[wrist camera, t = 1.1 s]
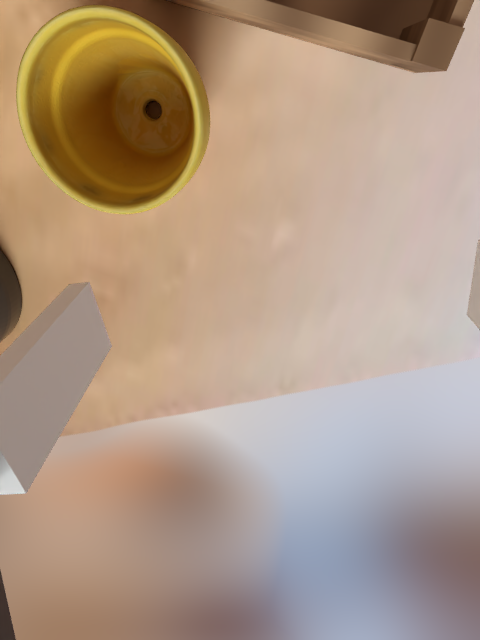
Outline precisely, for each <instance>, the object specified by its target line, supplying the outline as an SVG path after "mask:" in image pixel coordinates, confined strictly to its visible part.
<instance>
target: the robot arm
mask: <svg viewBox="0 0 480 640" xmlns="http://www.w3.org/2000/svg"><path fill="white" fill-rule="evenodd" d="M21 307H22V299H21V291H20V287H19V283H18V280H17V277H16V275H15V273H14V270H13V268H12V267H11V265H10V263H9V261H8V260H7V258H6V257H5V255H4V254H3V252H2V251H1V250H0V342H1V341H2V340H3V339H4V338H6V337H7V336H8V335H9V334H10V333H11V332H12V330H13V329H14V328H15V326H16V324H17V322H18V320H19V317H20V313H21ZM467 315H468V317H469V318H470V319H471V320H472V321H473V322H474V324H475V325H476V326H477V327H478V328H479V330H480V240H478V245H477V252H476V258H475V265H474V272H473V278H472V285H471V291H470V298H469V305H468V311H467ZM111 347H112V345H111V342H110V339H109V337H108V334H107V331H106V328H105V325H104V322H103V320H102V317H101V314H100V311H99V308H98V305H97V302H96V300H95V297H94V294H93V291H92V288H91V285H90V282H85V283H76V284H69V285H68V286H67V287H66V288H65V289H64V290H63V291H62V292H61V293H60V294H59V295H58V296H57V297H56V298H55V299H54V300H53V302H52V303H51V304H50V305H49V306H48V307H47V308H46V309H45V310H44V311H43V312H42V313H41V314H40V315H39V316H38V317H37V318H36V319H35V320H34V321H33V322H32V323H31V324H30V325H29V326H28V327H27V328H26V330H25V331H24V332H23V333H22V334H21V335H20V336H19V337H18V338H17V339H16V340H15V341H14V342H13V343H12V344H11V345H10V346H9V347H8V348H7V349H6V350H5V351H4V352H3V353H2V354H1V355H0V495H1V494H21V493H27V491H28V489H29V488H30V486H31V484H32V482H33V481H34V479H35V477H36V476H37V474H38V472H39V470H40V469H41V467H42V465H43V464H44V462H45V460H46V458H47V457H48V455H49V453H50V451H51V450H52V448H53V446H54V445H55V443H56V441H57V439H58V438H59V436H60V434H61V433H62V431H63V429H64V427H65V426H66V424H67V422H68V421H69V419H70V417H71V415H72V414H73V412H74V410H75V409H76V407H77V405H78V403H79V402H80V400H81V398H82V397H83V395H84V393H85V391H86V390H87V388H88V386H89V384H90V383H91V381H92V379H93V378H94V376H95V374H96V372H97V371H98V369H99V367H100V366H101V364H102V362H103V360H104V359H105V357H106V355H107V354H108V352H109V350H110V348H111ZM0 640H16V639H15V635H14V630H13V625H12V621H11V616H10V612H9V607H8V602H7V598H6V593H5V589H4V584H3V580H2V575H1V571H0Z"/></svg>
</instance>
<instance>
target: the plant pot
mask: <svg viewBox="0 0 480 640" xmlns="http://www.w3.org/2000/svg"><path fill="white" fill-rule="evenodd" d="M16 100H17V111H18V116H19V121H20V125H21V129H22V132H23V135H24V138H25V140H26V143H27V145H28V147H29V149H30V151H31V153H32V155H33V157H34V158H35V160H36V162H37V163H38V165H39V166H40V167H41V169H42V170H43V171H44V173H45V174H46V175H47V176H48V177H49V178H50V179H51V181H52V182H53V183H54V184H56V185H57V186H58V187H59V188H60V189H61V190H62V191H64V192H65V193H66V194H67V195H69V196H70V197H72V198H73V199H75V200H76V201H78V202H80V203H82V204H84V205H86V206H88V207H91V208H93V209H96V210H99V211H103V212H107V213H114V214H133V213H140V212H144V211H147V210H150V209H153V208H155V207H157V206H159V205H161V204H163V203H165V202H166V201H168V200H169V199H171V198H172V197H173V196H174V195H176V194H177V193H178V192H179V191H180V190H181V189H182V188H183V187H184V186H185V185H186V184H187V183H188V182H189V180H190V179H191V178H192V176H193V175H194V173H195V172H196V170H197V169H198V167H199V165H200V163H201V161H202V159H203V156H204V154H205V151H206V148H207V144H208V140H209V133H210V111H209V104H208V99H207V95H206V91H205V88H204V85H203V82H202V80H201V77H200V75H199V73H198V71H197V69H196V67H195V65H194V64H193V62H192V61H191V59H190V58H189V56H188V55H187V54H186V52H185V51H184V50H183V49H182V47H181V46H180V45H179V44H178V43H177V42H176V41H175V40H174V39H173V38H172V37H171V36H169V35H168V34H167V33H166V32H164V31H163V30H162V29H161V28H159V27H158V26H156V25H155V24H153V23H151V22H150V21H148V20H146V19H144V18H142V17H140V16H138V15H136V14H134V13H132V12H129V11H127V10H123V9H120V8H116V7H111V6H104V5H88V6H81V7H77V8H73V9H69V10H67V11H65V12H62V13H60V14H59V15H57V16H55V17H54V18H52V19H51V20H50V21H48V22H47V23H46V24H45V25H44V26H42V27H41V28H40V30H39V31H38V32H37V33H36V34H35V35H34V37H33V38H32V40H31V41H30V43H29V45H28V46H27V48H26V51H25V53H24V55H23V57H22V60H21V63H20V67H19V72H18V77H17V89H16ZM150 101H157V102H158V103H159V104H160V105H161V109H162V114H161V116H160V117H159V118H158V119H151V118H150V117H148V115H147V114H146V110H145V109H146V105H147V103H148V102H150Z"/></svg>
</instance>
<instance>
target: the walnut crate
mask: <svg viewBox="0 0 480 640" xmlns="http://www.w3.org/2000/svg"><path fill="white" fill-rule="evenodd" d="M166 1H169V2H173V3H176V4H180V5H183V6H187V7H190V8H194V9H197V10H200V11H204V12H207V13H211V14H214V15H218V16H221V17H225V18H228V19H231V20H235V21H238V22H242V23H245V24H249V25H252V26H256V27H259V28H262V29H266V30H269V31H273V32H276V33H280V34H283V35H287V36H290V37H293V38H297V39H300V40H304V41H307V42H311V43H314V44H318V45H321V46H324V47H328V48H331V49H335V50H338V51H342V52H345V53H349V54H352V55H355V56H359V57H362V58H366V59H369V60H373V61H376V62H380V63H383V64H386V65H390V66H393V67H397V68H400V69H404V70H407V71H411V72H414V73H419V72H437V71H447V68H448V66H449V64H450V61H451V59H452V57H453V54H454V52H455V50H456V47H457V45H458V43H459V40H460V38H461V36H462V33H463V31H464V29H465V28H463V25H464V23H465V21H466V18H467V16H468V14H469V11H470V9H471V6H472V4H473V2H474V0H166Z"/></svg>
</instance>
